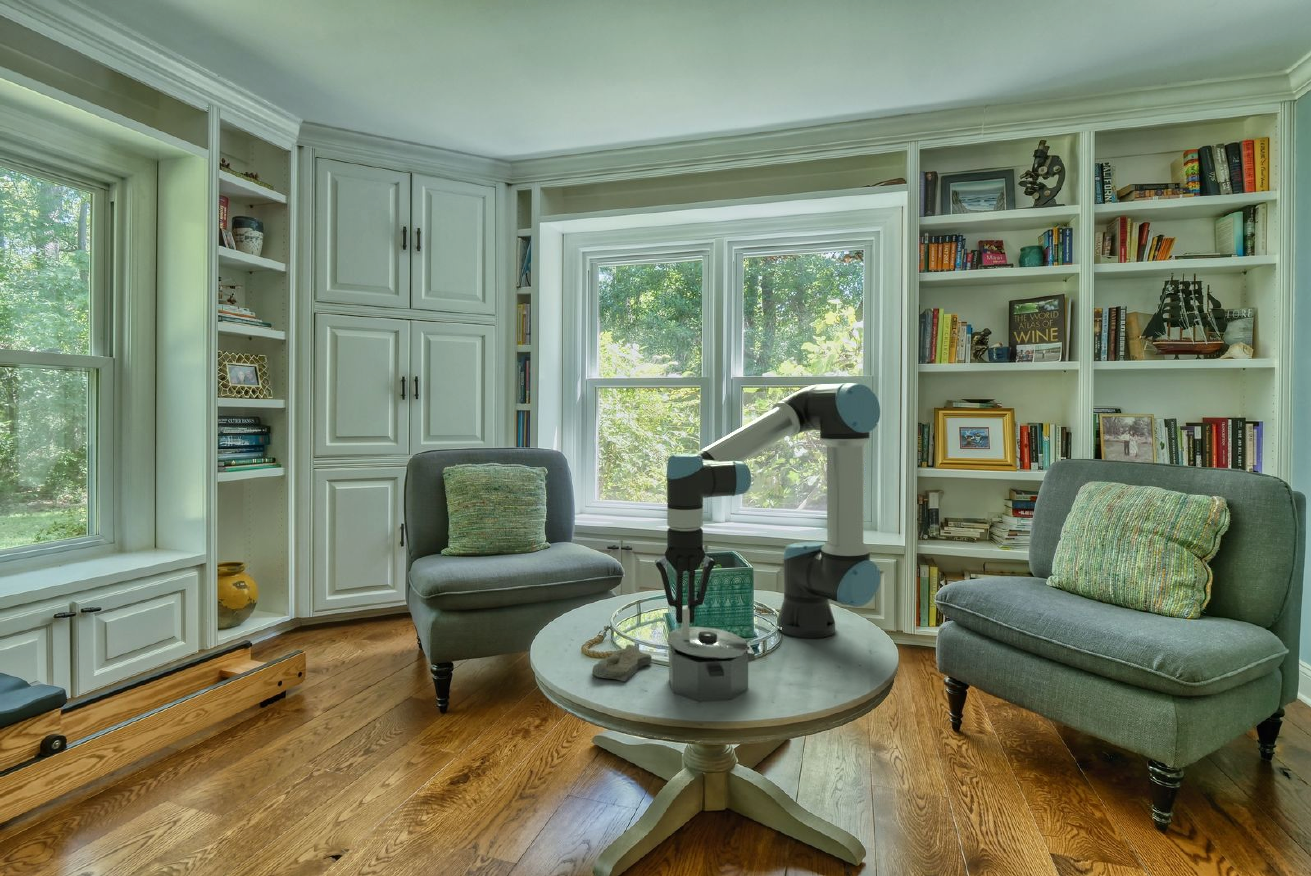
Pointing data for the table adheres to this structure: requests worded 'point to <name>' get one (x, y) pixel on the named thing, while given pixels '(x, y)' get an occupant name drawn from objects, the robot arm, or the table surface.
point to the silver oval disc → (709, 643)
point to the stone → (622, 664)
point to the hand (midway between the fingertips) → (685, 637)
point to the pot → (708, 675)
